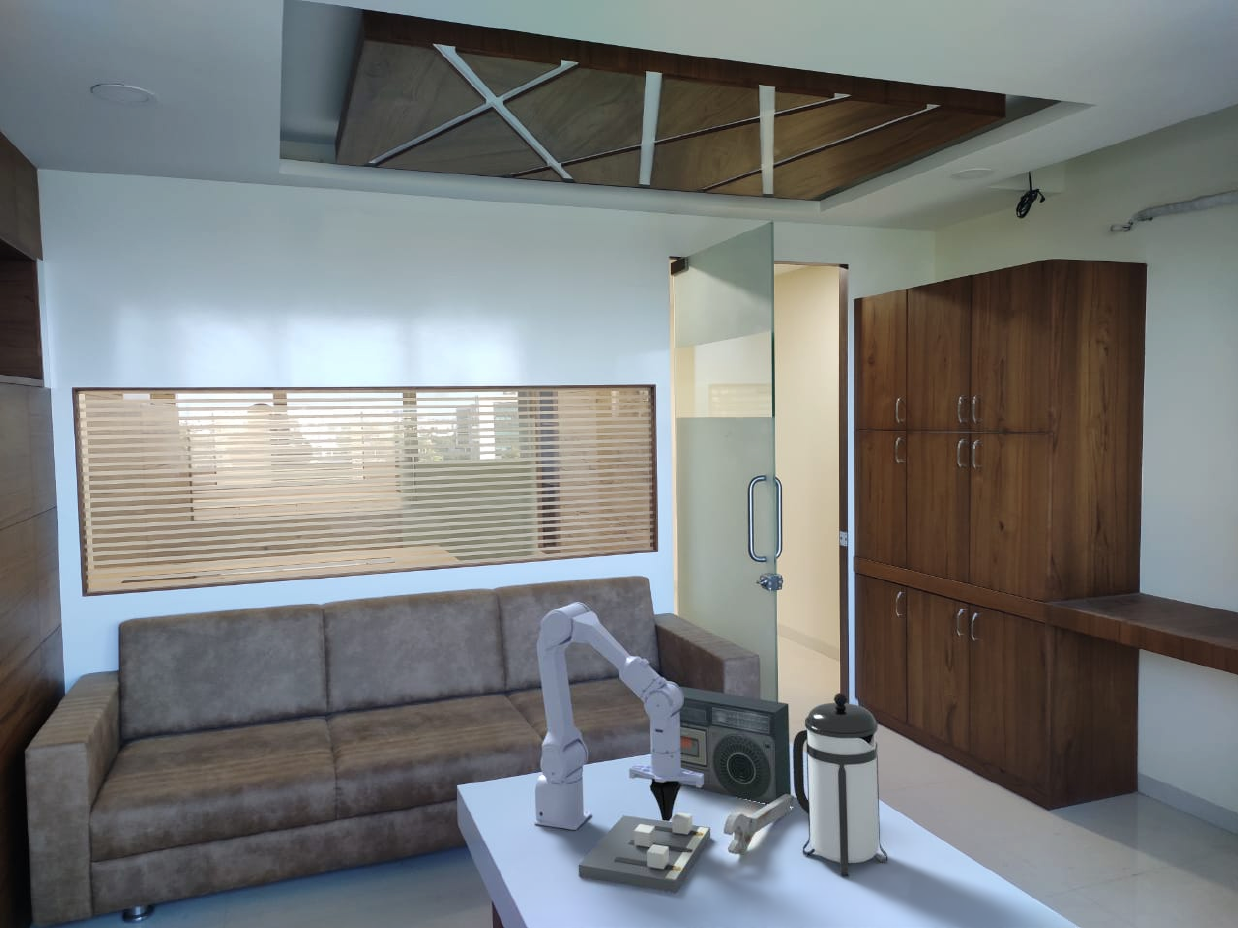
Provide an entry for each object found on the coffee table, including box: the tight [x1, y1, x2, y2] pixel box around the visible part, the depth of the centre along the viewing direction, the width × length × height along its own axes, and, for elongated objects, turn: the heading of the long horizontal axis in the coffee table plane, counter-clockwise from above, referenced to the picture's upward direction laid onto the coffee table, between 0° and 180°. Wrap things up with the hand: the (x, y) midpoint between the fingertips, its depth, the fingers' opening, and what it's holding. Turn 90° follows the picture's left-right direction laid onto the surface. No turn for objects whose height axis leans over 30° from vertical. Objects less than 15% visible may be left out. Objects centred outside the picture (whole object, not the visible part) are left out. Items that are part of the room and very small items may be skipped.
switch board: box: [578, 815, 711, 894], centre depth 158 cm, size 18×22×2 cm
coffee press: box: [792, 692, 888, 877], centre depth 155 cm, size 17×16×30 cm
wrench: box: [723, 794, 796, 855], centre depth 165 cm, size 8×2×30 cm
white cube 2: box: [634, 824, 655, 847], centre depth 158 cm, size 3×3×3 cm
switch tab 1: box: [647, 844, 669, 869], centre depth 150 cm, size 3×3×3 cm
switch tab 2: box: [671, 812, 693, 835], centre depth 163 cm, size 3×3×3 cm
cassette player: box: [675, 685, 792, 804], centre depth 188 cm, size 29×7×20 cm, turn 55°
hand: (667, 818), depth 164 cm, fingers closed
